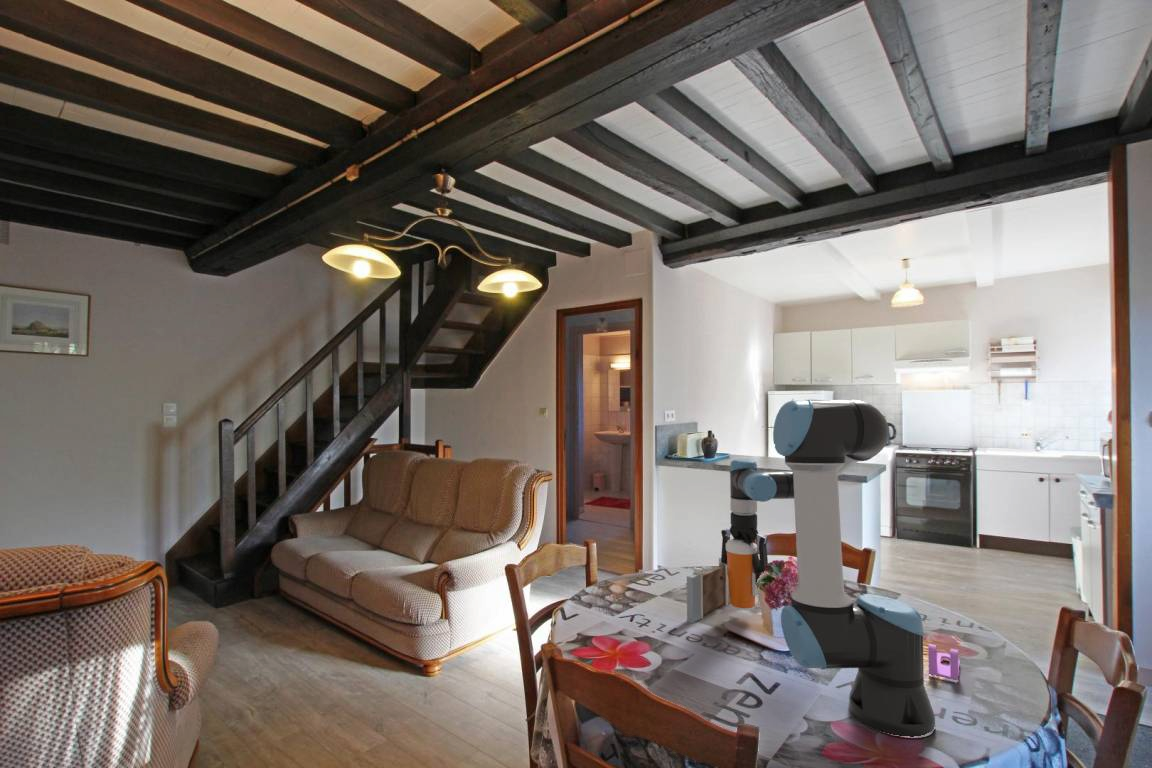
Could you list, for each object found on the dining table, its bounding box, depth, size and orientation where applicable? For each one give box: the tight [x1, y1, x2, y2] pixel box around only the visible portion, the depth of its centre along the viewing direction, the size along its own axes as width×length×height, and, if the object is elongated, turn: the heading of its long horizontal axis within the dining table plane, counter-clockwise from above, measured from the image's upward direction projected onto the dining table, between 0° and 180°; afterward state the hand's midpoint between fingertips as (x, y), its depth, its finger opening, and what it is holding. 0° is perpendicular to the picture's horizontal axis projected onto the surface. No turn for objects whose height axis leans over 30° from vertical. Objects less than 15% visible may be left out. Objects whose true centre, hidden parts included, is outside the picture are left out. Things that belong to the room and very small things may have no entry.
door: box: [703, 565, 725, 616], centre depth 166 cm, size 13×2×12 cm, turn 136°
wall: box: [686, 556, 730, 624], centre depth 166 cm, size 24×3×14 cm, turn 136°
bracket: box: [928, 643, 961, 681], centre depth 130 cm, size 13×6×7 cm, turn 143°
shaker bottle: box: [726, 536, 758, 609], centre depth 159 cm, size 9×9×20 cm
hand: (744, 591), depth 159 cm, fingers open, 6 cm apart
